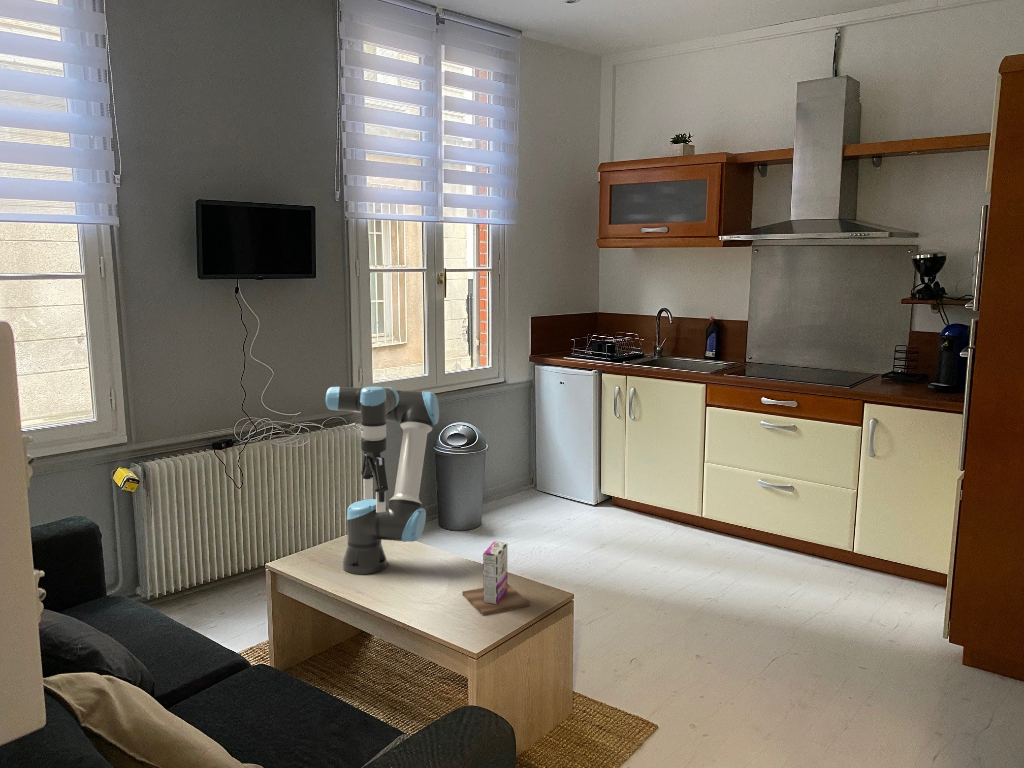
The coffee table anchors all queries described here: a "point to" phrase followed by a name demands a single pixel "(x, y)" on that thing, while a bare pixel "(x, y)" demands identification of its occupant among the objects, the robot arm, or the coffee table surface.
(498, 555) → the candy bar box
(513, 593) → the walnut board
